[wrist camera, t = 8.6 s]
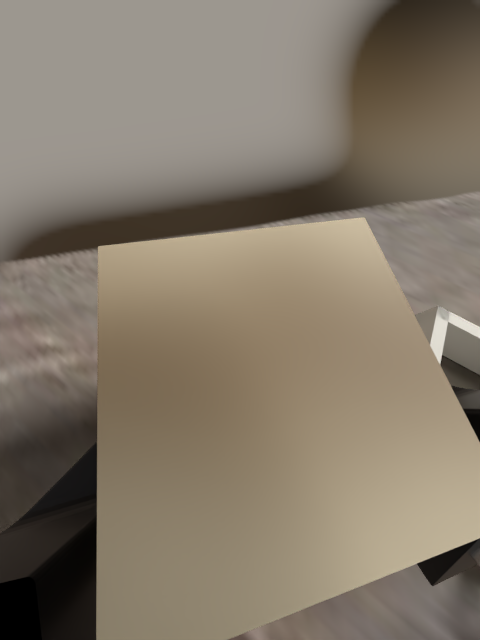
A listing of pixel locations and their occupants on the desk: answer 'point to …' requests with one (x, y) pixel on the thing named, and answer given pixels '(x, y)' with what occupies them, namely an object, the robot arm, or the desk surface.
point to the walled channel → (451, 337)
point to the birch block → (266, 430)
